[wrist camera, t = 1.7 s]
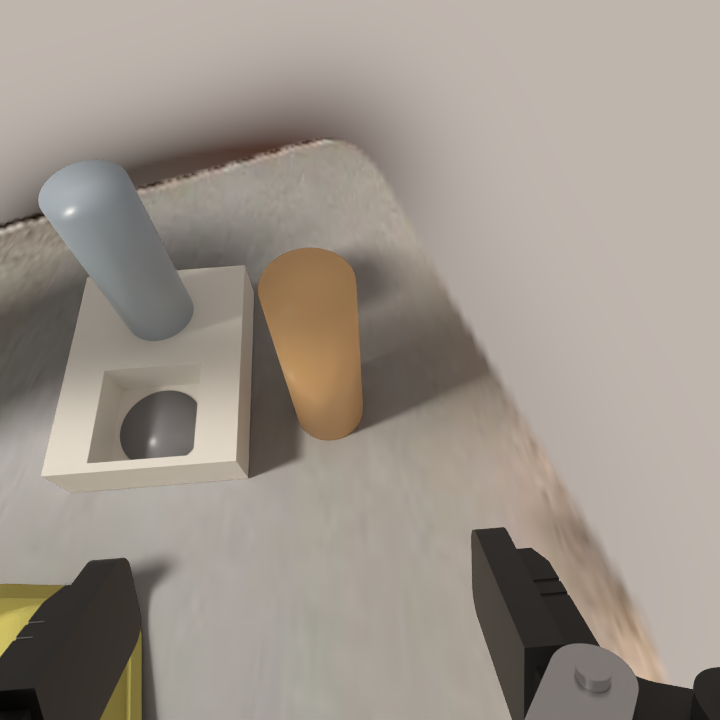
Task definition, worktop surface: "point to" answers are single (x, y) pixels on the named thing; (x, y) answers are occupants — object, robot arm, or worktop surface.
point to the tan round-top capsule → (316, 337)
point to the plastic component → (13, 611)
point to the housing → (145, 349)
